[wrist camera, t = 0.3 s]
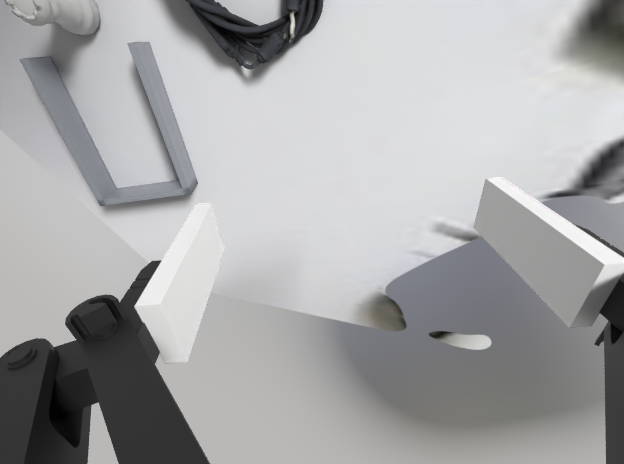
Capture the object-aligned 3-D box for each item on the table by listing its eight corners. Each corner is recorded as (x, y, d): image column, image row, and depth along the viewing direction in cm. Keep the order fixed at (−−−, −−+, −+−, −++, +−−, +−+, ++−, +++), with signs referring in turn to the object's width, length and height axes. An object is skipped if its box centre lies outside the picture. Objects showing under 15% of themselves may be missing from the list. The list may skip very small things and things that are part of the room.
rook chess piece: (99, -10, 31) (45, -24, 24) (104, 40, 33) (56, 40, 27) (51, -24, 30) (-19, -42, 24) (59, 28, 33) (-3, 25, 26)
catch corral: (43, 57, 34) (19, 59, 31) (149, 42, 34) (135, 42, 31) (113, 194, 43) (100, 205, 40) (198, 183, 43) (190, 193, 40)
